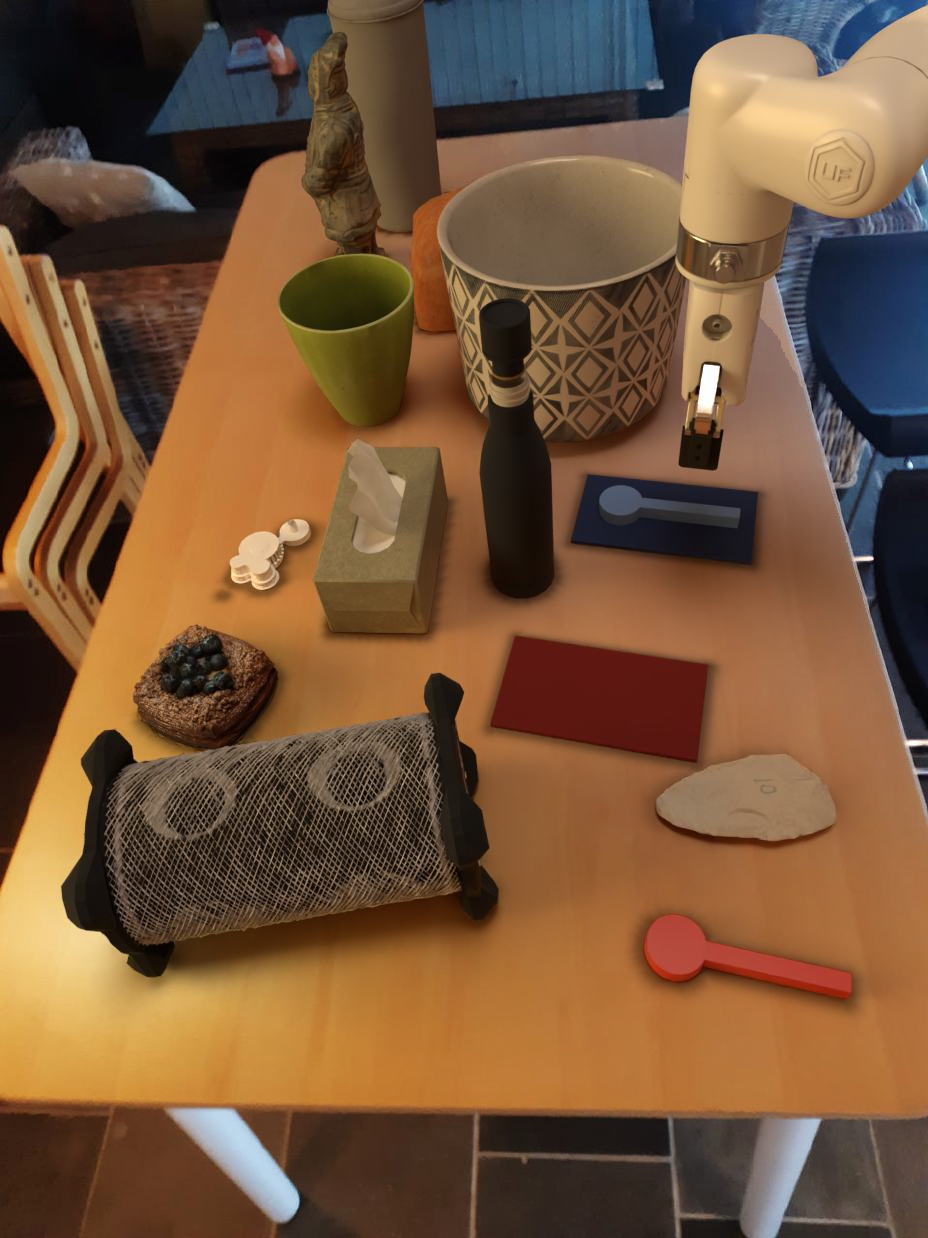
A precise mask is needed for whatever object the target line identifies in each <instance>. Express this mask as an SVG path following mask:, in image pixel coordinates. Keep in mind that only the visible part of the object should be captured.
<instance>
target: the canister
mask: <svg viewBox="0 0 928 1238" xmlns="http://www.w3.org/2000/svg"><path fill="white" fill-rule="evenodd" d="M424 1H425V0H327V8H326V13H327V15H328V17H329V21H330V26H331V29H332V31H331V32H332V34H333V33H335V32H344V33H345V34H346V36H347V43H348V46H347V50H346V52H345V53H346V54H345V59H344V60H345V64H346V65H345V70H346V73H347V77H348V88H347V92H348V93H349V94H350V95H351V97H352V98H353V101H354V102H355V103H356V105H357V107H358V110H359V113H360V117H361V120H362V121H363V125H364V131H363V138H364V145H365V148H364V150H365V155H364V156H365V160H366V163H367V166H368V170H369V174H370V176H371V179H372V183H373V186H374V189H375V192H376V195H377V197H378V199H379V201H380V204H381V207H380V210H381V216H380V218H379V219H378V221H377V225H376V226H378V227H379V228H381V229H383V230H385V231H389V232H393V233H407V232H409V233H410V232H413V214H414V213H415V212H416V211H417V209H418V208H419V207H421V206H422V205H423V204H425V203H426V202H427V201H429V200H430V199H432V198H434V197H437V196H440V195H443V194H442V185H441V175H440V165H439V164H440V163H439V162H440V161H439V154H438V153H439V152H438V142H437V131H436V119H435V110H434V100H433V89H432V81H431V69H430V60H429V50H428V49H429V48H428V40H427V30H426V29H427V28H426V19H425V10H424V9H425V8H424Z"/></svg>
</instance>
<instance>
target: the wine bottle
mask: <svg viewBox="0 0 928 1238" xmlns="http://www.w3.org/2000/svg"><path fill="white" fill-rule="evenodd" d="M479 324H480V334H481V345H482V353H483V355H484V357H485V358H487V359H488V360H489V361H492V374H491V376H490V380H489V387H490V391H489V395H488V411H489V420H488V421H489V424H488V427H487V429H486V432H485V436H484V438H483V442H482V446H481V453H480V463H479V480H480V481H479V482H480V490H481V500H482V506H483V514H484V515H483V516H484V517H483V518H484V525H485V532H486V533H485V534H486V543H487V550H488V551H487V552H488V559H489V560H488V561H489V568H490V570H489V571H490V576H491V581H492V584H493V585H494V586H495V588H496V589H497V590H498V591H499V592H500V593H502V594H504V595H505V596H509V597H512V598H517V599H522V598H526V599H527V598H531V597H534V596H535V597H536V596H538V595H540V594H541V593H543V592H544V591H546V590H547V589H548V588H549V587H550V586H551V585H552V583H553V580H554V578H555V550H554V549H555V547H554V546H555V545H554V511H553V510H554V509H553V506H554V505H553V476H552V475H553V473H552V472H553V471H552V469H553V468H552V460H551V455H550V452H549V449H548V446H547V441H545V440H544V438H543V436H542V434H541V432H540V430H539V427H538V425H537V423H536V421H535V419H534V401H533V393H532V391H531V389H530V379H529V377H528V374H527V372H526V371H525V365H524V358H525V357H527V356H528V355H529V354H530V352H531V350H532V341H531V319H530V309H529V307H528V305H527V304H525V303H524V302H522V301H520V300H517V299H511V298H504V299H498V300H494V301H492V302H489V303H487V304H486V305H485V306H484V307H482V309H481V310H480V312H479Z"/></svg>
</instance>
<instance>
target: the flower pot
mask: <svg viewBox="0 0 928 1238" xmlns="http://www.w3.org/2000/svg"><path fill="white" fill-rule="evenodd" d="M277 308H278V311H279V313H280V316H281V319H282V320H283V323H284V324H285V327H286V330H287V331H288V334H289V336H290V337H291V339H292V342H293V344H294V346H295V347H296V350H297V352H298V353H299V355H300V357H301V359H302V361H303V363H304V364H305V366H306V368H307V369H308V371H309V373H310V374H311V376H312V377H313V379H314V381H315V383H316V384H317V386H318V388H319V389H320V390H321V391H322V393H323V394H324V395H325V397H326V399H327V400H328V401H329V402H330V404H331V405H332V406H333V408H334V409H335V410H336V411H337V412H338V414H339V416H340V417H342V419H343V420H344V421H345V422H346V423H348V424H349V425H352V426H356V427H362V428H363V427H364V428H367V427H368V428H370V427H375V426H380V425H382V424H385V423H387V422H388V421H389V420H391V419H392V418H393V417H395V416H396V415H397V413H398V412H399V409H400V407H401V404H402V399H403V396H404V393H405V389H406V384H407V379H408V374H409V368H410V362H411V361H410V360H411V355H412V347H413V346H412V345H413V336H414V335H413V334H414V318H415V306H414V281H413V277H412V272H410V270H409V269H408V268H407V267H406V266H405V265H404V264H403V263H401V262H399V261H397V260H395V259H393V258H390V257H387V256H386V257H384V256H380V255H374V254H347V255H339V256H335V255H334V256H331V257H327V258H323V259H321V260H319V261H316V262H313V263H311V264H309V265H307V266H304V267H303V268H302V269H300V270H299V271H297V272H295V273H294V274H292V276H291V277H289V279H287V280H286V282H285V283H284V284H283V285H282V287H281V289H280V290H279V293H278V297H277Z"/></svg>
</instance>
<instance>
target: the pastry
mask: <svg viewBox="0 0 928 1238" xmlns="http://www.w3.org/2000/svg"><path fill="white" fill-rule="evenodd" d="M278 674H279V671H278V669H277V668H276V667H275V663H274V662H273V660H271V659H270V657H269V656H268V655H267V654H266V651H265V650H263V649H259V648H257V647H256V646H254V645H252V644H251V643H249V642H247V641H245V640H243V639H240V638H238V637H235V636H233V635H230V634H227V633H225V632H222V631H219V630H216V629H211V628H208V627H207V626H205V625H204V626H200V625H199V624H197V623H196V624H194V625H190V626H188V627H187V628H186V629H183V631H182V632H181V633H179V634H177V635H175V636H174V637H173V639H171V640H170V641H169V642H168V643H166V645H165V646H164V647H163V648H161V647H160V648H159V649H158V656H157V657H156V658H155V660H154V661H153V662H151V664H150V665H149V666H148V668H147V669H146V670H145V671H144V672H143V674H142V675H141V676H140V679H139V682H135V685H134V689H135V690H134V691H133V693H132V701H133V703H134V704H135V705H136V706H137V709H136V710H137V714H138V715H139V716H140V717H141V719H142V720H144V722H145V723H146V724H147V725H148V726H149V727H150V728H151V729H152V730H154V731H155V732H157V733H159V734H160V735H161V736H164V737H165V738H167V739H169V740H172V741H174V742H176V743H179V744H181V745H182V744H183V745H186V746H189V747H192V748H195V749H197V750H199V752H204V751H206V750H209V749H210V750H216V749H220V748H223V747H225V746H235V745H236V743H238V742H239V740H241V738H243V737H244V736H245V735H246V734H247V733H248V732H249V731H250V730H251V729H252V727H253V726H254V725H255V724H256V722H257V721H259V719H260V717H262V715H263V714H264V713H265V711H266V710H267V708H268V707H269V705H270V704H271V702H272V701H273V697H274V695H275V693H276V690H277V686H278V683H279V680H280V679H279V676H278Z"/></svg>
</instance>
